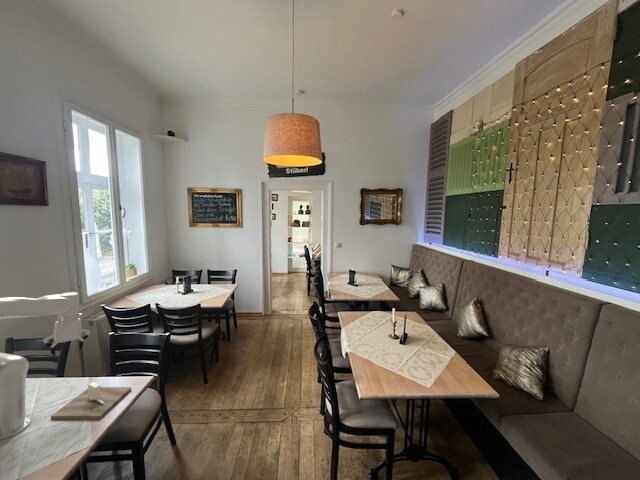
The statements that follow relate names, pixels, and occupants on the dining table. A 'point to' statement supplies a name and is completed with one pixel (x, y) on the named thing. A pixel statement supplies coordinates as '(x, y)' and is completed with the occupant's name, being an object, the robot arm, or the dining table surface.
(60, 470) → the dining table surface
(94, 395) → the peg knob
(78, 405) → the panel
